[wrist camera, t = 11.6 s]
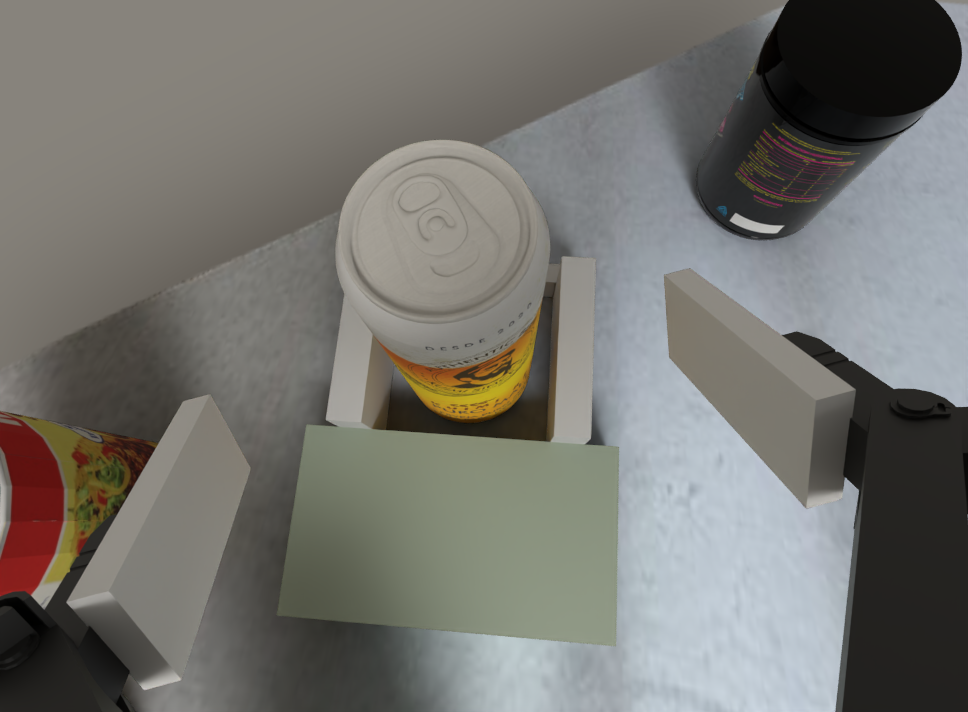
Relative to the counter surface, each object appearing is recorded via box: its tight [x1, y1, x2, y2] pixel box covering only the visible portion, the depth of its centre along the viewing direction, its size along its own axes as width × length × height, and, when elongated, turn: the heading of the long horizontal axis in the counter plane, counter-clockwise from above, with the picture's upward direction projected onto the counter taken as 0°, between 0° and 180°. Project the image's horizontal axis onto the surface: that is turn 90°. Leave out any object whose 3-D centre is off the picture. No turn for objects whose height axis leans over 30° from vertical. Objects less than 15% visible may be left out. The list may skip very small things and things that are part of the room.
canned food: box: [0, 411, 159, 609], centre depth 22 cm, size 8×8×12 cm
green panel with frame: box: [276, 256, 619, 646], centre depth 26 cm, size 14×17×5 cm
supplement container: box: [696, 0, 962, 240], centre depth 27 cm, size 7×7×10 cm
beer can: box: [335, 139, 550, 423], centre depth 22 cm, size 6×6×15 cm
